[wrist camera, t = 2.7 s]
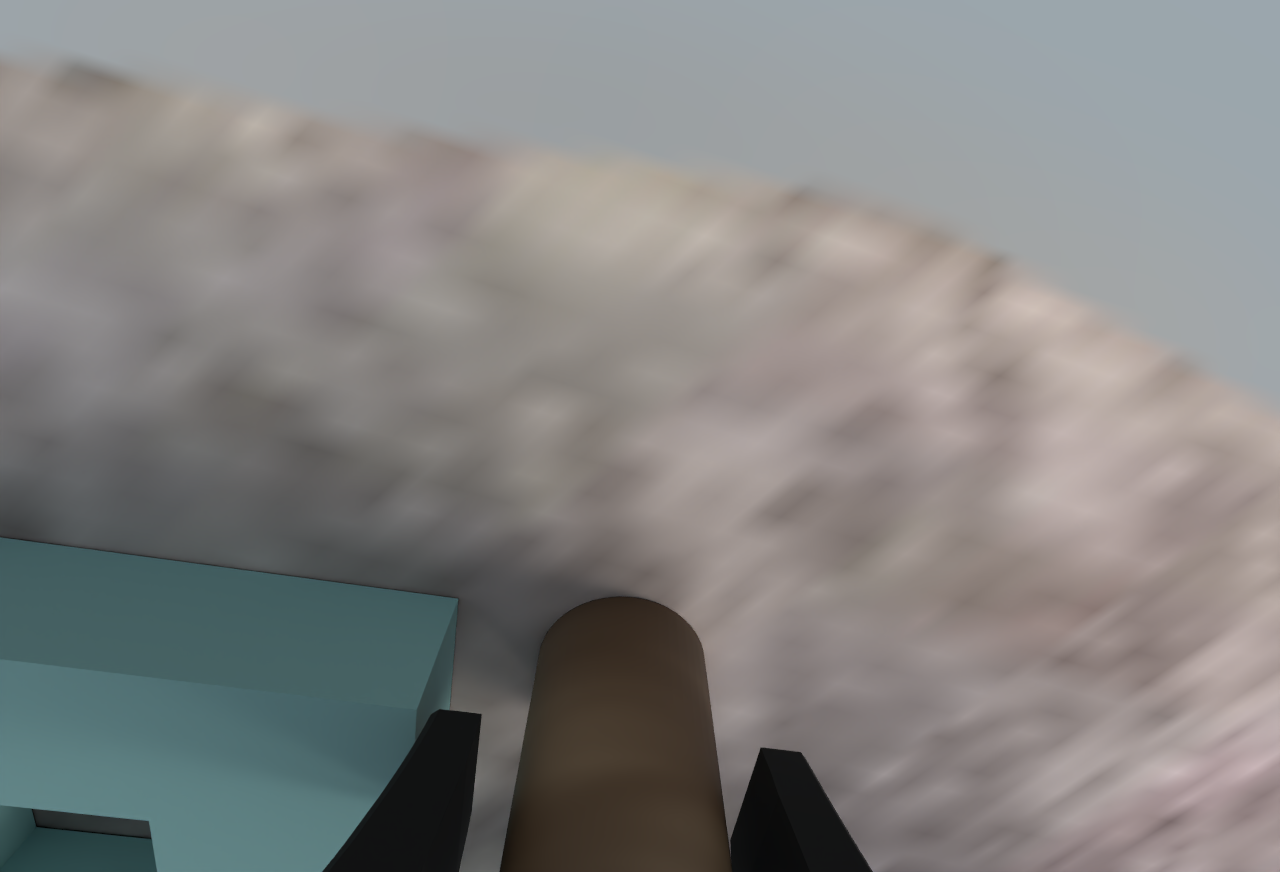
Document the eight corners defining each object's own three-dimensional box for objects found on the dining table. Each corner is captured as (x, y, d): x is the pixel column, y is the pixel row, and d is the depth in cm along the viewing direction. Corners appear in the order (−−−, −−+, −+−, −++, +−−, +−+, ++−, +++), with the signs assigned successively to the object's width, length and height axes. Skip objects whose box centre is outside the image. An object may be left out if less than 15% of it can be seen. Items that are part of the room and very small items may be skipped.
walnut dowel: (720, 609, 12) (816, 1147, 6) (686, 735, 13) (734, 1296, 7) (548, 585, 12) (449, 1118, 6) (530, 716, 13) (429, 1278, 7)
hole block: (458, 598, 12) (416, 710, 10) (429, 952, 16) (395, 1090, 14) (-300, 496, 11) (-543, 593, 9) (-130, 898, 15) (-267, 1036, 13)
